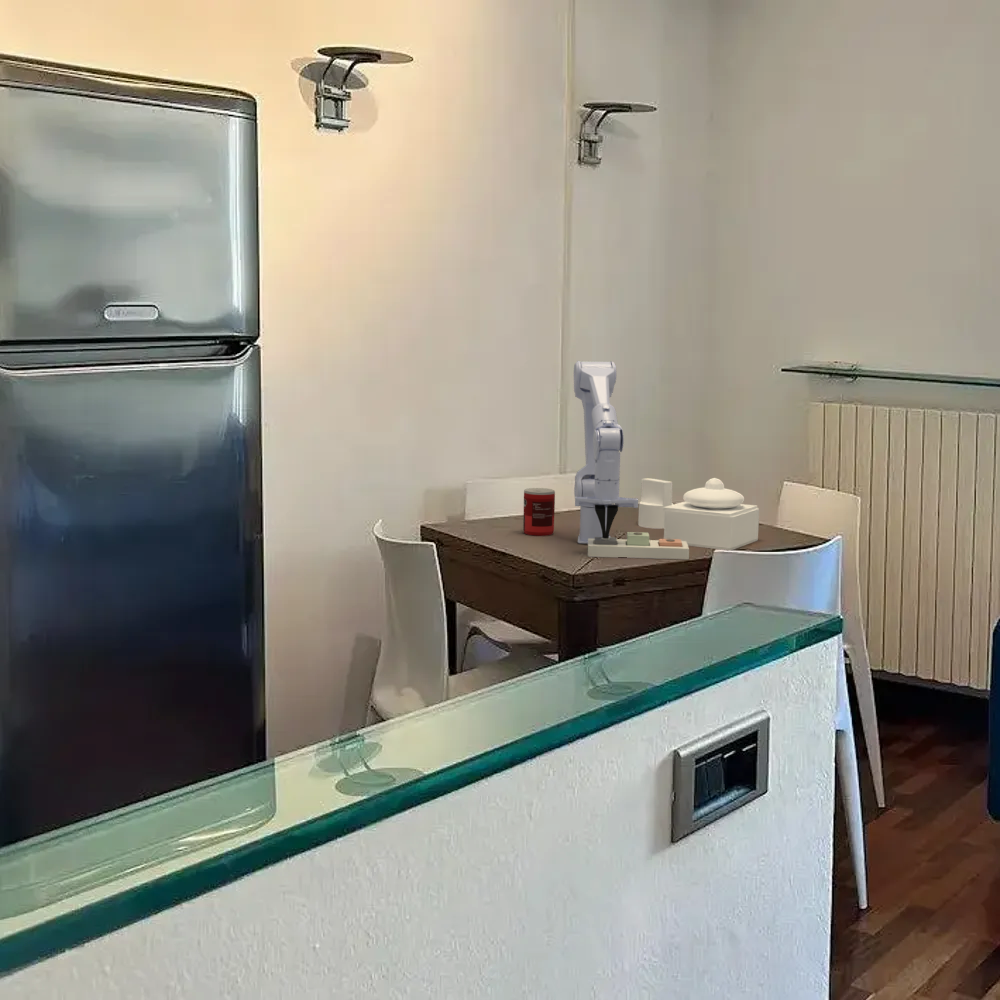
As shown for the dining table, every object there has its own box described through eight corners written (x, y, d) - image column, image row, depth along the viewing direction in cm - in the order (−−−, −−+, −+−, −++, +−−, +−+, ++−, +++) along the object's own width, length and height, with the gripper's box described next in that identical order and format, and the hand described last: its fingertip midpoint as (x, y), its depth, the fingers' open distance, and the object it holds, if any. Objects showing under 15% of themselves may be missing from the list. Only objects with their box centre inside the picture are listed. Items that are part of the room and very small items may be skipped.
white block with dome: (730, 551, 324) (733, 484, 322) (661, 543, 334) (663, 478, 332) (758, 541, 339) (761, 477, 337) (691, 533, 349) (693, 471, 346)
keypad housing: (587, 548, 323) (588, 538, 323) (685, 551, 322) (686, 541, 321) (587, 556, 313) (588, 545, 313) (688, 559, 312) (689, 548, 312)
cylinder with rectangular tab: (631, 524, 360) (632, 479, 358) (656, 521, 365) (657, 477, 363) (654, 529, 352) (656, 483, 351) (679, 526, 358) (681, 481, 356)
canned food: (535, 529, 349) (536, 487, 348) (560, 533, 344) (561, 490, 343) (516, 533, 344) (517, 489, 342) (541, 537, 338) (542, 493, 337)
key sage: (626, 545, 320) (627, 531, 320) (648, 546, 320) (648, 531, 319) (627, 549, 315) (627, 534, 315) (648, 549, 315) (649, 535, 314)
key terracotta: (658, 552, 320) (659, 537, 319) (680, 552, 319) (680, 538, 319) (659, 556, 315) (660, 541, 314) (681, 556, 314) (681, 542, 314)
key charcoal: (594, 550, 321) (594, 536, 320) (615, 550, 320) (616, 536, 320) (594, 554, 316) (594, 539, 315) (616, 554, 315) (616, 540, 315)
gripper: (575, 480, 312) (573, 539, 314) (639, 482, 311) (637, 541, 313) (575, 476, 319) (574, 534, 321) (638, 478, 318) (636, 535, 320)
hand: (605, 537), depth 318 cm, fingers closed
